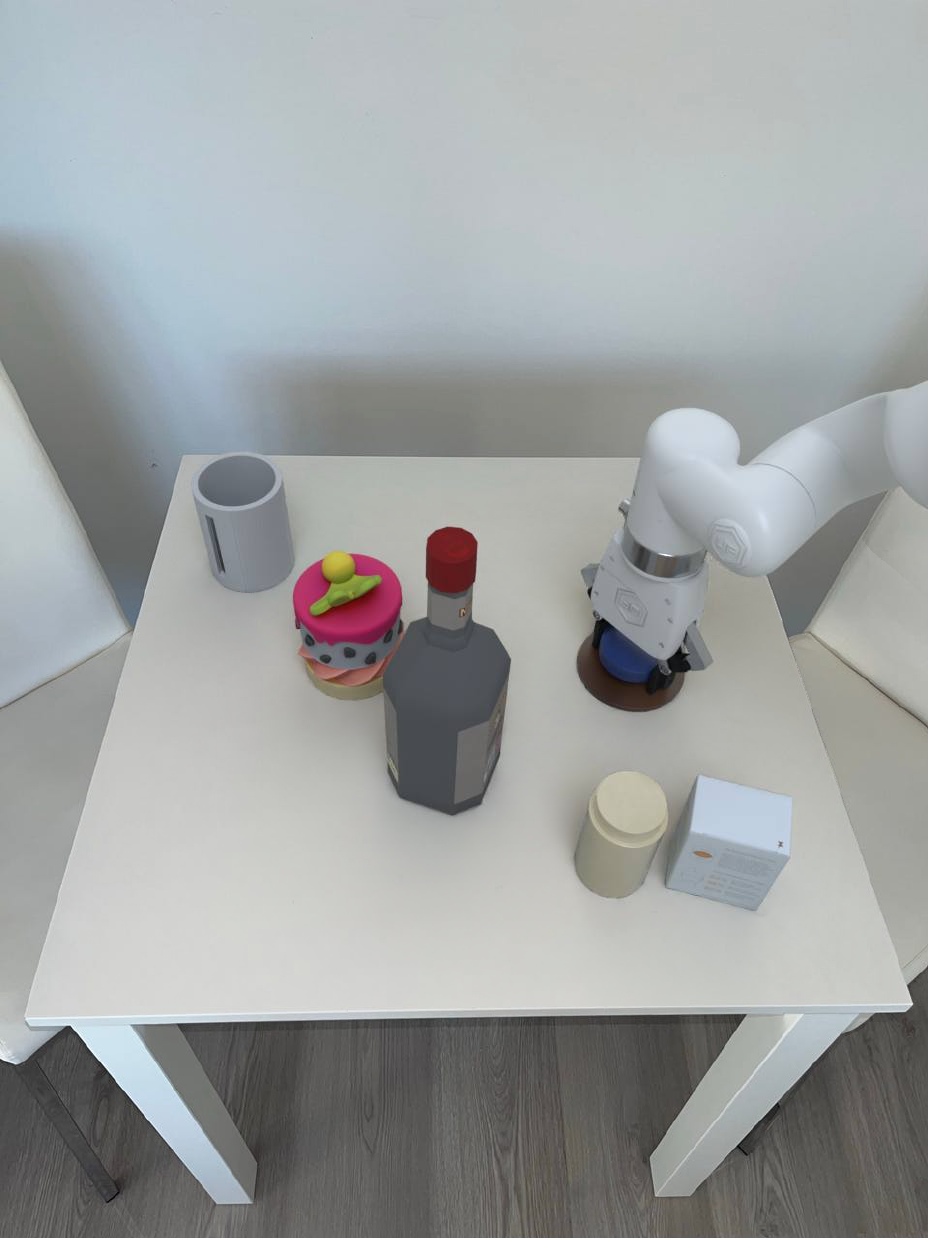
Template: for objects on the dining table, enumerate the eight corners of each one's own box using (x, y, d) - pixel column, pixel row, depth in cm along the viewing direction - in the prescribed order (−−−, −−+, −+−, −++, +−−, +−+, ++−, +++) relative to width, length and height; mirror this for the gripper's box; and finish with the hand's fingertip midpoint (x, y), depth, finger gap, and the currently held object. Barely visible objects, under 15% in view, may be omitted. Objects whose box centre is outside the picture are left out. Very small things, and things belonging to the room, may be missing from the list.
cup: (302, 537, 107) (291, 455, 98) (283, 596, 101) (270, 515, 92) (224, 529, 107) (205, 447, 98) (201, 587, 102) (179, 506, 92)
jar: (652, 843, 84) (678, 779, 75) (639, 908, 80) (665, 848, 71) (583, 822, 85) (600, 757, 76) (566, 885, 81) (583, 824, 72)
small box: (760, 855, 83) (796, 796, 75) (756, 913, 80) (793, 858, 72) (671, 832, 84) (697, 771, 76) (662, 888, 81) (689, 830, 73)
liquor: (505, 746, 90) (533, 519, 67) (473, 827, 84) (493, 609, 61) (416, 718, 92) (415, 487, 69) (379, 795, 86) (365, 571, 63)
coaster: (691, 643, 99) (693, 640, 98) (672, 725, 92) (674, 721, 92) (590, 616, 101) (591, 612, 100) (565, 694, 94) (565, 690, 94)
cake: (281, 657, 96) (262, 555, 84) (362, 606, 101) (354, 503, 89) (344, 721, 91) (332, 622, 80) (426, 665, 96) (426, 564, 84)
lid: (583, 651, 95) (585, 641, 94) (629, 616, 98) (632, 605, 97) (635, 694, 92) (638, 684, 90) (681, 657, 95) (685, 646, 93)
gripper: (565, 506, 85) (545, 631, 98) (715, 619, 77) (671, 738, 90) (621, 471, 88) (594, 597, 102) (771, 576, 80) (720, 697, 94)
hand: (630, 662), depth 96 cm, fingers closed on lid, 6 cm apart
